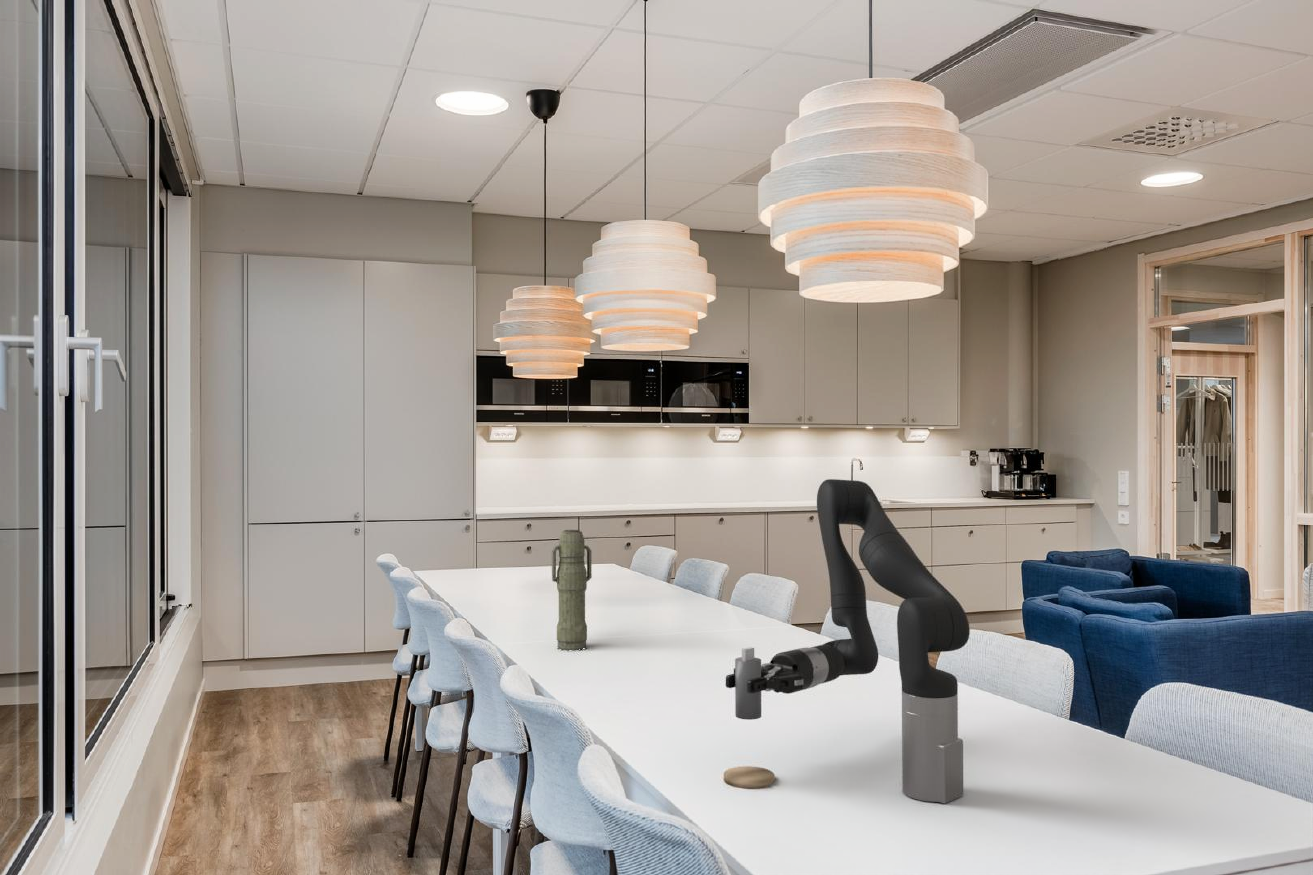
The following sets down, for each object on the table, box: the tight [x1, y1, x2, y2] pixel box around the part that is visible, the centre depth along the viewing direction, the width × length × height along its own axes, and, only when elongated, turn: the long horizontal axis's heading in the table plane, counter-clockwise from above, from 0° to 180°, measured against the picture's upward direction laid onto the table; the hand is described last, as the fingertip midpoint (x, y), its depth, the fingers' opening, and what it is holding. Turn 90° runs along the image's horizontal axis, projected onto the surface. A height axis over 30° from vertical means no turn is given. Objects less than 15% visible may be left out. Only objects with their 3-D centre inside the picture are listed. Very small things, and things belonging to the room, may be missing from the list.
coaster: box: [723, 765, 775, 789], centre depth 178 cm, size 9×9×1 cm
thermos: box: [551, 529, 593, 651], centre depth 298 cm, size 9×12×35 cm
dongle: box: [734, 646, 762, 721], centre depth 178 cm, size 5×5×12 cm
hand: (738, 684), depth 176 cm, fingers closed on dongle, 4 cm apart
